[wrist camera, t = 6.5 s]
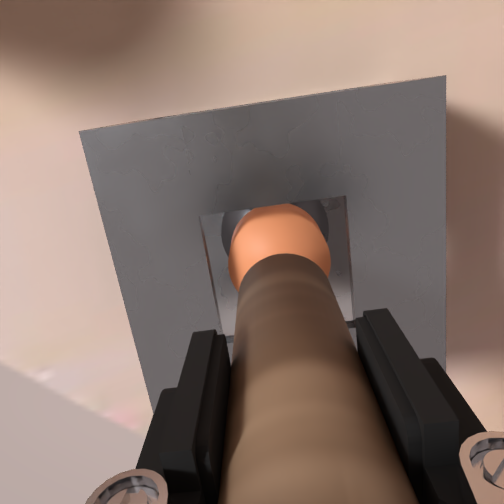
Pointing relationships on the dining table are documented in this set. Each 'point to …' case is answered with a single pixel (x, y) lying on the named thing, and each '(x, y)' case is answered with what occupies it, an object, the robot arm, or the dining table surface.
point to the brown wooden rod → (302, 399)
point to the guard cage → (276, 193)
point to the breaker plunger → (275, 239)
